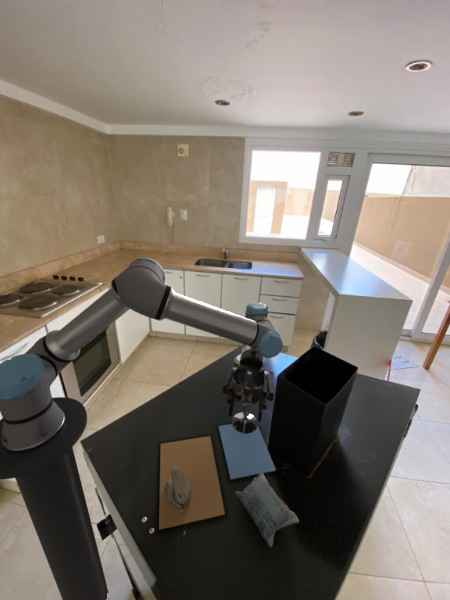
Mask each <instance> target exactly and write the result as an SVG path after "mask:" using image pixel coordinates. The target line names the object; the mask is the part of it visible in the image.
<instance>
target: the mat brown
mask: <svg viewBox="0 0 450 600" xmlns="http://www.w3.org/2000/svg"><path fill="white" fill-rule="evenodd" d="M212 443H213V442H212V438H211V435H208V436H201V437H196V438H195V437H194V438H188V439H182V440H175V441H169V442H162V443H160V451H159V452H160V457H159V458H160V459H159V460H160V461H159V463H160V464H159V503H158V504H159V507H158V509H159V510H158V530H163V529H169V528H172V527H178V526H182V525H186V524H190V523H194V522H199V521H203V520H204V521H205V520H208V519H212V518H216V517H221V516H225V515H226V513H225V507H224V502H223V501H224V500H223V497H222V492H221V486H220V481H219V475H218V469H217V465H216V460H215V454H214V448H213V444H212ZM173 467H176V468H178V467H179V468H181V469H182V471H183V473H184V476H185V479H186V480H187V481H188V483H189V485H190V487H191V499H190V502H189V503H190V504H189V508H188V510H187V511H186V512H185V513H177V512H176V511H174V510H172V509H171V508H170V507H169V505H168V503H167V501H166V499H165V486H166V483H167V482H168V481H169V480H170V479H172V468H173Z"/></svg>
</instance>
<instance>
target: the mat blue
mask: <svg viewBox="0 0 450 600" xmlns="http://www.w3.org/2000/svg"><path fill="white" fill-rule="evenodd" d="M217 426H218V431H219V435H220V439H221V444H222V449H223V454H224V458H225V461H226V466H227V471H228V475H229V478H230V480H236V479H241V478H248V477H252V476H256V475H257V476H258V475H259V474H260V473H261V471H263V474H268V473H273V472H276V471H277V468H276V467H275V464H274V461H273V460H272V457H271V454H270V451H269V449H268V447H267V445H266V442H265V440H264V439H265V438H264V437H263V434H262V432H261V430H260V427H259V426H258V427H257V429H256V430H255V431H254V432H252V433H250V434H243V433H240V432H238V431H236V430H235V429H234V427H233V425H232V423H230V424H223V425H217Z"/></svg>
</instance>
